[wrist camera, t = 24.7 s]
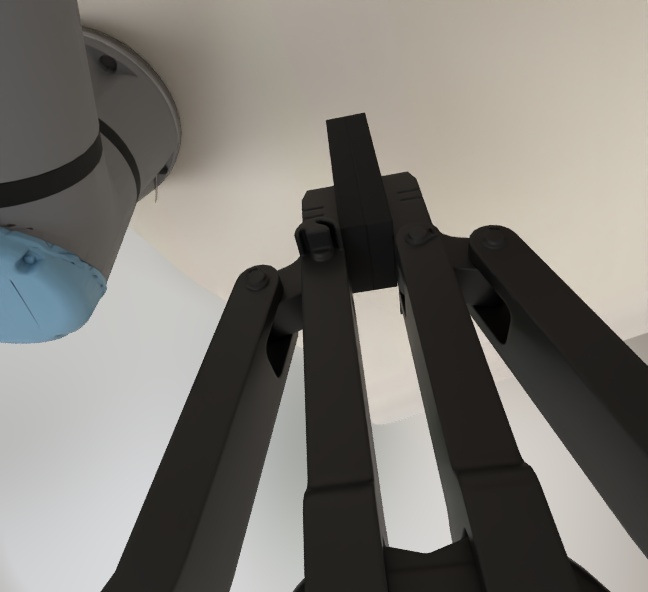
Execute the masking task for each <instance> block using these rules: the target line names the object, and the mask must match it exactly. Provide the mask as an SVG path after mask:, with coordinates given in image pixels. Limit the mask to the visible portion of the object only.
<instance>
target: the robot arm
mask: <svg viewBox="0 0 648 592" xmlns="http://www.w3.org/2000/svg"><path fill="white" fill-rule="evenodd" d="M326 125H327V133H328V141H329V149H330V157H331V165H332V173H333V181H334V186H331V187H326V188H320V189H315V190H309V191H307V192H306V194H305V196H304V198H303V199H302V218H303V223H302V224H300V225H299V227H298V228H297V229H296V231H295V235H294V236H295V239H296V243H297V246H298V250H299V253H300V257H299V258H298V259H297V260H296V261H295V262H294V263H292V264H291V265H289V266H287V267H285V268H283V269H280V270H278V271H277V270H276V269H275V268H273V267H272V266H268V265H257V266H253V267H251V268H249V269H247V270H245V271H244V272H243V273H241V274H240V276H239V277H238V279H237V280H236V283H235V285H234V287H233V290H232V292H231V295H230V297H229V299H228V302H227V304H226V307H225V309H224V311H223V314H222V316H221V319H220V321H219V323H218V326H217V328H216V331H215V333H214V335H213V338H212V340H211V343H210V345H209V348H208V350H207V352H206V355H205V357H204V359H203V362H202V364H201V367H200V369H199V371H198V374H197V376H196V379H195V381H194V384H193V386H192V389H191V391H190V393H189V396H188V398H187V400H186V403H185V405H184V408H183V410H182V412H181V415H180V417H179V420H178V422H177V424H176V427H175V429H174V432H173V434H172V436H171V439H170V441H169V444H168V446H167V448H166V451H165V453H164V456H163V458H162V460H161V463H160V465H159V468H158V470H157V472H156V475H155V477H154V480H153V482H152V484H151V487H150V489H149V492H148V494H147V496H146V499H145V501H144V504H143V506H142V509H141V511H140V513H139V516H138V518H137V520H136V523H135V525H134V528H133V530H132V532H131V535H130V537H129V540H128V542H127V544H126V547H125V549H124V552H123V554H122V557H121V559H120V561H119V564H118V566H117V569H116V571H115V573H114V574H113V576H112V577H111V578H110V580H109V581H108V582H107V584H106V585H105V586H104V588H103V589H102V591H101V592H229V591H230V587H231V585H232V581H233V578H234V575H235V571H236V567H237V563H238V559H239V556H240V552H241V548H242V544H243V540H244V537H245V533H246V529H247V526H248V522H249V518H250V514H251V511H252V506H253V503H254V499H255V496H256V492H257V488H258V484H259V480H260V477H261V473H262V469H263V465H264V461H265V458H266V454H267V450H268V447H269V443H270V439H271V435H272V432H273V428H274V424H275V420H276V416H277V413H278V409H279V405H280V402H281V398H282V394H283V390H284V387H285V383H286V379H287V375H288V371H289V367H290V364H291V360H292V356H293V353H294V349H295V345H296V341H297V338H298V331H300V330H302V329H303V351H304V381H305V413H306V443H307V474H308V484H307V489H306V491H305V494H304V500H303V532H304V533H303V534H304V575H305V578H304V579H303V580H302V581H301V582H300V583H299V584H298V585H297V587H296V588H295V590H294V591H293V592H610V591H609V590H608V589H607V588H606V587H604V586H603V585H602V584H601V583H600V582H599V581H598V580H597V579H596V578H595V577H593V576H592V575H591V574H590V573H589V572H588V571H586V570H585V569H584V568H583V567H581V566H580V565H579V564H577V563H576V562H575V561H573V560H572V559H570V558H569V557H567V554H566V551H565V549H564V546H563V543H562V541H561V538H560V536H559V533H558V530H557V527H556V524H555V522H554V519H553V516H552V514H551V511H550V508H549V506H548V503H547V500H546V498H545V495H544V493H543V490H542V487H541V485H540V482H539V480H538V478H537V475H536V474H535V472H534V470H533V469H532V467H531V466H530V465H528V464H527V463H525V462H524V460H523V459H522V457H521V455H520V452H519V450H518V447H517V444H516V442H515V438H514V436H513V433H512V430H511V427H510V425H509V422H508V419H507V416H506V413H505V411H504V408H503V405H502V402H501V400H500V397H499V394H498V391H497V388H496V386H495V383H494V380H493V377H492V375H491V372H490V369H489V366H488V363H487V361H486V358H485V355H484V352H483V350H482V347H481V344H480V341H479V338H478V336H477V333H476V330H475V327H474V325H473V322H472V319H471V316H472V318H473V319H474V320H475V322H476V323H477V325H478V326H479V327H480V329H481V330H482V332H483V333H484V334H485V336H486V337H487V339H488V340H489V341H490V343H491V344H492V345H493V347H494V348H495V350H496V351H497V352H498V354H499V355H500V357H501V358H502V359H503V361H504V362H505V364H506V365H507V366H508V368H509V369H510V370H511V372H512V373H513V375H514V376H515V377H516V379H517V380H518V381H519V383H520V384H521V386H522V387H523V388H524V390H525V391H526V393H527V394H528V395H529V397H530V398H531V400H532V401H533V402H534V404H535V405H536V407H537V408H538V409H539V411H540V412H541V413H542V415H543V416H544V418H545V419H546V420H547V422H548V423H549V424H550V426H551V427H552V429H553V430H554V432H555V433H556V434H557V436H558V437H559V438H560V440H561V441H562V442H563V444H564V445H565V447H566V448H567V450H568V451H569V452H570V454H571V455H572V457H573V458H574V459H575V461H576V462H577V463H578V465H579V466H580V468H581V469H582V470H583V472H584V473H585V475H586V476H587V477H588V479H589V480H590V481H591V483H592V484H593V486H594V487H595V488H596V490H597V491H598V493H599V494H600V495H601V497H602V498H603V500H604V501H605V502H606V504H607V505H608V507H609V508H610V509H611V511H612V512H613V513H614V514H615V516H616V518H617V519H618V520H619V522H620V523H621V524H622V526H623V527H624V528H625V530H626V531H627V533H628V534H629V535H630V537H631V538H632V540H633V541H634V542H635V543H636V545H637V546H638V547H639V548H640V550H641V551H642V552H643V554H644V555H645V556H646V557H647V559H648V366H647V365H646V364H645V363H644V362H643V361H642V360H641V359H640V358H639V357H638V356H637V355H636V354H635V353H634V352H633V351H632V350H631V349H630V348H629V347H628V346H627V345H626V344H625V343H624V342H623V341H622V340H621V339H620V338H619V337H618V336H617V335H616V334H615V333H614V332H613V331H612V330H611V329H610V328H609V327H608V325H607V324H606V323H605V322H604V321H603V320H602V319H601V318H600V317H599V316H598V315H597V314H596V313H595V312H594V311H593V310H592V309H591V308H590V307H589V306H588V305H587V304H586V303H585V302H584V301H583V300H582V299H581V298H580V297H579V296H578V295H577V294H576V293H575V292H574V291H573V290H572V289H571V288H570V287H569V286H568V285H567V284H566V283H565V282H564V281H563V280H562V279H561V278H560V277H559V276H558V275H557V274H556V273H555V272H554V271H553V270H552V269H551V268H550V267H549V266H548V265H547V264H546V263H545V262H544V261H543V260H542V259H541V258H540V257H539V256H538V255H537V254H536V253H535V252H534V251H533V250H532V249H531V248H530V247H529V246H528V245H527V244H526V243H525V242H524V241H523V240H522V239H521V238H520V237H519V236H518V235H517V234H516V233H515V232H513V231H512V230H510V229H509V228H506V227H503V226H498V225H488V226H483V227H480V228H478V229H476V230H474V231H473V233H472V234H471V235H470V238H460V237H451V236H448V235H444V234H442V233H441V232H440V231H439V230H438V228H437V227H435V226H434V225H433V224H432V222H431V219H430V216H429V213H428V210H427V208H426V205H425V202H424V199H423V197H422V193H421V191H420V188H419V185H418V182H417V179H416V178H415V177H413V176H412V175H411V174H410V173H409V172H402V173H397V174H391V175H386V176H381V173H380V169H379V166H378V162H377V158H376V154H375V150H374V146H373V142H372V138H371V135H370V131H369V127H368V123H367V119H366V115H365V113H360V114H355V115H350V116H345V117H340V118H335V119H330V120H326ZM180 142H181V125H180V119H179V115H178V112H177V108H176V106H175V103H174V101H173V99H172V97H171V94H170V93H169V91H168V89H167V88H166V86H165V84H164V83H163V81H162V80H161V79H160V77H159V76H158V75H157V74H156V72H155V71H154V70H153V69H152V68H151V67H150V66H149V65H148V64H147V63H146V62H145V61H144V60H143V59H142V58H141V57H140V56H139V55H138V54H136V53H135V52H134V51H132V50H131V49H130V48H128V47H127V46H125V45H124V44H122V43H121V42H119V41H117V40H115V39H114V38H112V37H110V36H108V35H105V34H103V33H101V32H98V31H96V30H93V29H90V28H86V27H82V26H81V21H80V16H79V10H78V4H77V0H0V342H1V343H16V344H17V343H21V344H24V343H26V344H27V343H40V342H47V341H52V340H56V339H60V338H62V337H64V336H66V335H68V334H69V333H72V332H74V331H76V330H78V329H80V328H81V327H82V326H83V325H84V324H85V323H86V322H87V321H88V320H89V318H90V316H91V315H92V313H93V311H94V309H95V307H96V305H97V304H98V302H99V300H100V298H101V297H102V296H103V295H104V293H105V292H106V290H107V287H106V284H107V281H108V278H109V275H110V273H111V270H112V267H113V264H114V262H115V259H116V257H117V254H118V251H119V249H120V246H121V243H122V241H123V238H124V235H125V232H126V230H127V227H128V225H129V222H130V219H131V217H132V214H133V211H134V209H135V206H136V203H137V202H138V201H140V200H141V199H142V198H143V197H145V196H146V195H147V194H149V193H150V192H151V191H153V190H154V189H155V188H156V196H155V203H156V200H157V188H158V186H159V185H160V184H161V183H162V182H163V181H164V179H165V178H166V177H167V176H168V174H169V173H170V171H171V170H172V168H173V166H174V163H175V161H176V158H177V155H178V151H179V148H180ZM397 282H398V287H399V298H400V312H401V314H403V316H404V321H405V325H406V329H407V334H408V338H409V343H410V347H411V352H412V356H413V360H414V365H415V369H416V374H417V378H418V383H419V387H420V391H421V396H422V400H423V405H424V409H425V413H426V418H427V422H428V427H429V430H430V436H431V440H432V444H433V449H434V453H435V457H436V462H437V466H438V470H439V475H440V479H441V484H442V488H443V493H444V497H445V502H446V506H447V511H448V518H449V526H450V532H451V538H452V544H450V545H447V546H445V547H443V548H441V549H438V550H436V551H433V552H431V553H419V552H414V551H408V550H403V549H398V548H392V547H389V544H388V538H387V532H386V526H385V520H384V513H383V506H382V499H381V493H380V485H379V477H378V471H377V463H376V456H375V449H374V442H373V435H372V427H371V420H370V413H369V406H368V398H367V391H366V384H365V377H364V370H363V363H362V355H361V348H360V341H359V334H358V327H357V320H356V312H355V305H354V300H353V295H352V293H358V292H364V291H371V290H377V289H383V288H390V287H396V286H397ZM470 315H471V316H470Z"/></svg>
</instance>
